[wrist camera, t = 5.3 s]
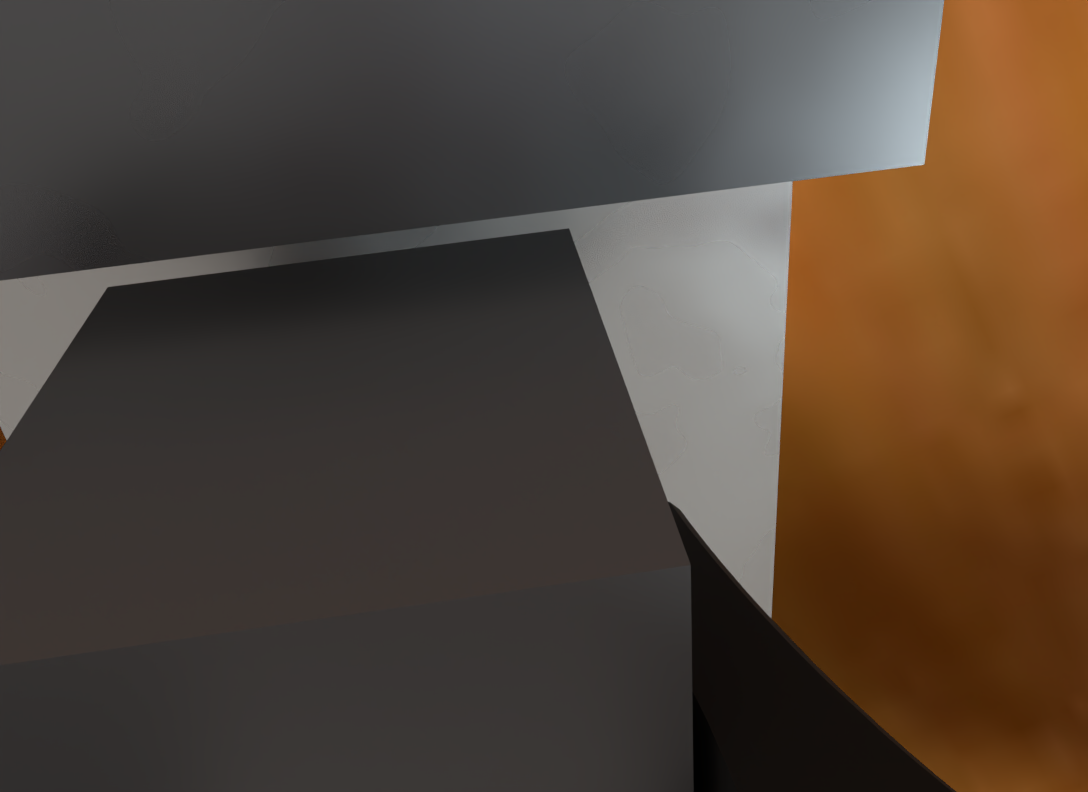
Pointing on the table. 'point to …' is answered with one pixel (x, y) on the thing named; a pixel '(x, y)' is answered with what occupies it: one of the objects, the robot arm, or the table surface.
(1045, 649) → the table surface
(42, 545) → the block
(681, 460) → the frame
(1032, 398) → the table surface
